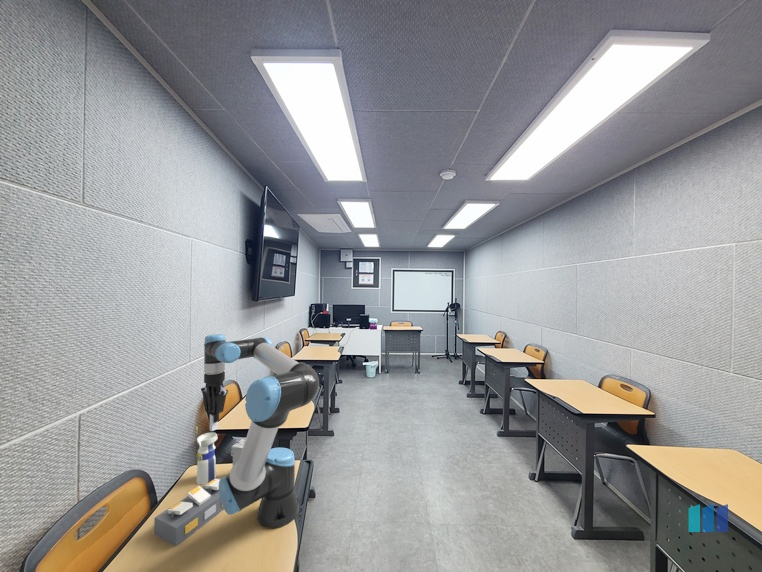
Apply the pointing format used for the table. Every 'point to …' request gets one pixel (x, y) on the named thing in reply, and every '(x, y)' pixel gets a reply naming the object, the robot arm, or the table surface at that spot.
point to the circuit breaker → (237, 450)
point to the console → (187, 518)
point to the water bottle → (206, 458)
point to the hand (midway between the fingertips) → (213, 429)
